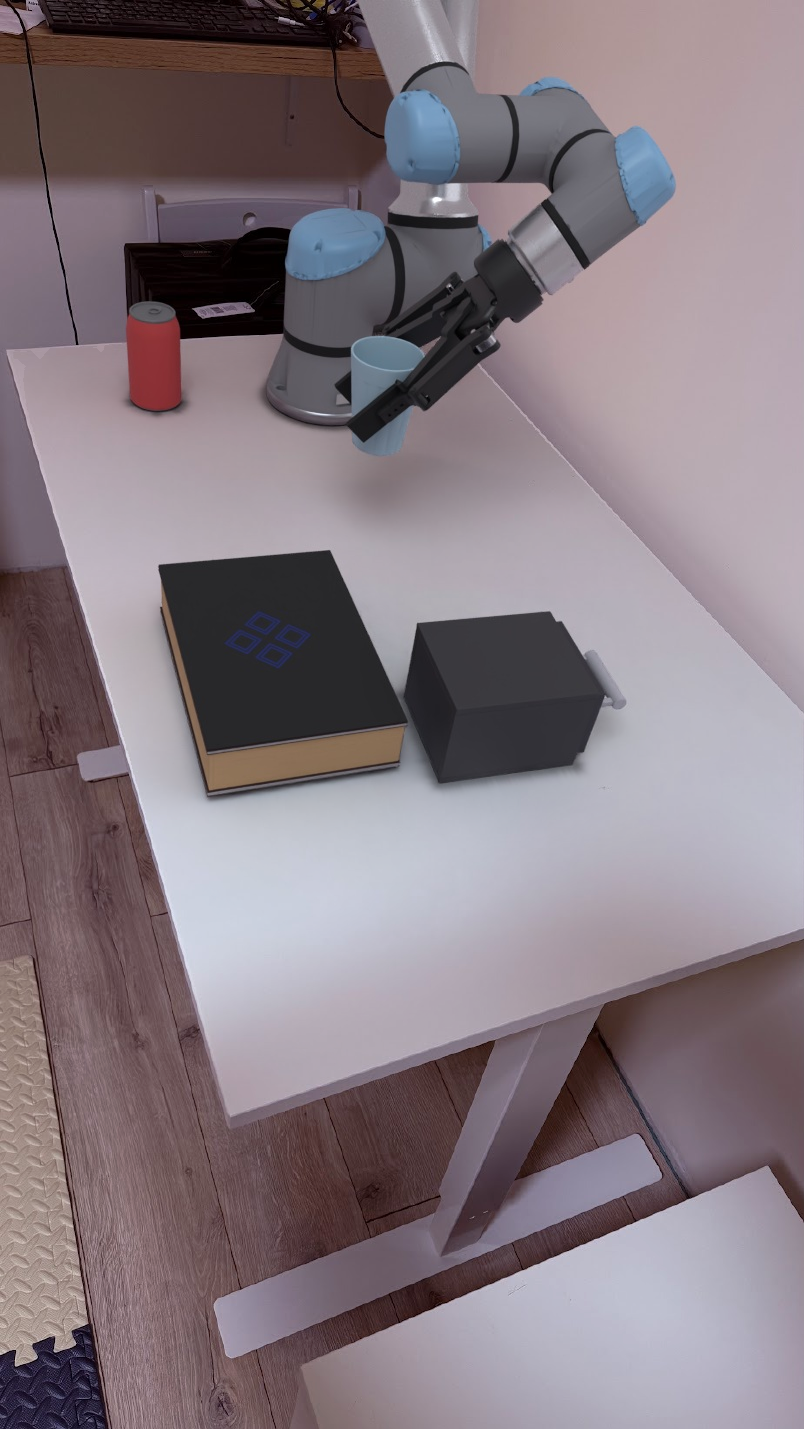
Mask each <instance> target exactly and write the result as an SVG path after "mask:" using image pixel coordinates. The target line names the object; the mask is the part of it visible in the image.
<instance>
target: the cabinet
mask: <svg viewBox="0 0 804 1429" xmlns="http://www.w3.org/2000/svg"><path fill="white" fill-rule="evenodd" d="M598 695H599V692H598V690H597V689H596V687H595V685H594V684H593V682H592V680H591V679H590V677H589V675H588V674H587V672H586V670H585V669H584V667H583V665H582V664H581V662H580V660H579V659H578V657H577V655H576V654H575V652H574V650H573V649H572V647H571V645H570V644H569V642H568V640H567V638H566V637H565V635H564V633H563V632H562V630H561V628H560V627H559V625H558V623H557V620H556V618H555V617H554V615H553V613H552V612H551V611H550V610H546V611H535V612H524V613H514V614H512V613H511V614H502V615H501V614H500V615H492V616H480V617H469V618H458V619H456V618H455V619H445V620H435V621H424V622H423V621H422V622H417V623H416V627H415V633H414V639H413V644H412V650H411V655H410V660H409V664H408V671H407V676H406V681H405V687H404V692H403V699H404V702H405V704H406V706H407V709H408V711H409V713H410V716H411V719H412V721H413V723H414V725H415V729H416V731H417V733H418V736H419V738H420V740H421V742H422V746H423V747H424V750H425V752H426V755H427V758H428V760H429V763H430V765H431V767H432V769H433V772H434V774H435V776H436V779H437V781H438V784H444V783H451V782H459V781H465V780H473V779H480V778H487V777H495V776H502V775H509V774H510V775H511V774H516V773H523V772H531V771H539V770H545V769H553V768H561V767H567V766H574V763H575V760H576V757H577V755H578V753H577V752H578V749H579V746H580V744H581V741H582V738H583V735H584V733H585V730H586V727H587V725H588V722H589V719H590V717H591V714H592V711H593V708H594V706H595V703H596V700H597V698H598Z"/></svg>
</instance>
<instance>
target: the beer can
mask: <svg viewBox="0 0 804 1429" xmlns="http://www.w3.org/2000/svg"><path fill="white" fill-rule="evenodd" d="M128 309H129V310H128V316H127V319H126V324H125V336H126V353H127V354H126V355H127V368H128V370H127V371H128V383H129V385H128V386H129V387H128V388H129V398H130V399H131V401H132V403H133V404H134V405H136V406H137V407H138V408H141V409H143V410H146V411H150V412H164V411H165V412H166V411H168V410H173V409H174V408H175V407H177V406H178V405H179V404H180V403H181V401H182V360H181V359H182V358H181V357H182V356H181V355H182V354H181V327H180V323H179V321H178V318H177V316H176V310H175V309H174V307H172V306H171V305H169V304H166V303H163V302H160V301H151V300H148V301H140V302H137V303H134V304H133V305H131V306H130V307H129V308H128Z"/></svg>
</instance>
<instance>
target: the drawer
mask: <svg viewBox="0 0 804 1429" xmlns="http://www.w3.org/2000/svg"><path fill="white" fill-rule="evenodd" d="M556 622H557V623H558V625H559V627H560V628H561V630H562V632H563V633H564V635H565V637H566V638H567V640H568V642H569V644H570V645H571V647H572V649H573V650H574V652H575V654H576V655H577V657H578V659H579V660H580V662H581V664H582V665H583V667H584V669H585V670H586V672H587V674H588V675H589V677H590V679H591V680H592V682H593V684H594V685H595V687H596V689H597V690H598V692H599V695H598V698H597V700H596V703H595V706H594V708H593V711H592V714H591V717H590V719H589V722H588V725H587V727H586V730H585V733H584V735H583V738H582V741H581V744H580V746H579V749H578V752H577V754H582V753H585V750H586V748H587V745H588V743H589V740H590V738H591V734H592V731H593V729H594V726H595V724H596V722H597V718H598V716H599V714H600V711H601V708H606V707H612V709H614V710H618V711H619V710H621V709H623V708H624V707H625V706H626V705H627V699H626V698H625V696H624V694H623V693H622V691H621V689H620V688H619V686H618V685H617V683H616V681H615V680H614V678H613V677H612V675H611V673H610V672H609V670H608V669H607V667H606V666H605V664H604V662H603V661H602V659H601V657H600V655H599V654H598V652H597V650H594V649H590V650H588V651H586V652H585V653H584V654H582V652H581V650H580V649H579V647H578V645H577V644H576V642H575V640H574V639H573V636H572V635H571V634H570V632H569V630H568V629H567V627H566V626H565V623H563V620H559V621H557V620H556Z"/></svg>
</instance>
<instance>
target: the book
mask: <svg viewBox="0 0 804 1429" xmlns="http://www.w3.org/2000/svg"><path fill="white" fill-rule="evenodd" d="M157 568H158V569H157V570H158V574H159V578H160V589H161V590H160V592H161V595H160V596H161V606H159V609H160V616H161V620H162V625H163V628H164V632H165V636H166V641H167V644H168V648H169V652H170V655H171V660H172V664H173V667H174V672H175V675H176V680H177V684H178V687H179V691H180V696H181V699H182V703H183V708H184V711H185V714H186V718H187V723H188V727H189V731H190V735H191V738H192V739H191V740H192V743H193V747H194V750H195V754H196V758H197V762H198V766H199V770H200V774H201V778H202V782H203V785H204V790H205V794H206V797H207V798H208V797H215V796H221V795H228V794H234V793H241V792H246V791H253V790H260V789H266V788H271V787H278V786H283V785H284V786H285V785H291V784H298V783H302V782H303V783H304V782H310V781H316V780H322V779H329V778H335V777H342V776H348V775H354V774H361V773H366V772H373V771H379V770H386V769H391V768H397V767H398V768H399V767H401V765H400V763H401V760H400V756H401V750H402V746H403V740H404V736H405V735H404V734H405V731H406V730H405V729H406V727H408V724H409V720H408V718H407V716H406V714H405V712H404V711H405V710H404V709H403V707H402V704H401V702H400V700H399V698H398V696H397V694H396V692H395V689H394V687H393V685H392V683H391V681H390V678H389V676H388V674H387V671H386V670H385V667H384V665H383V663H382V661H381V659H380V656H379V654H378V652H377V650H376V647H375V645H374V644H373V641H372V639H371V637H370V635H369V632H368V630H367V628H366V626H365V623H364V621H363V619H362V616H361V615H360V612H359V610H358V607H357V605H356V604H355V601H354V599H353V597H352V595H351V593H350V590H349V588H348V586H347V584H346V582H345V580H344V577H343V575H342V573H341V571H340V568H339V566H338V564H337V562H336V560H335V558H334V555H333V552H332V550H331V549H326V550H313V551H300V552H290V553H288V552H287V553H279V554H278V553H277V554H266V555H255V556H244V557H243V556H242V557H231V558H220V559H207V560H195V561H186V562H185V561H184V562H183V561H182V562H174V563H161V564H158V566H157Z"/></svg>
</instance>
